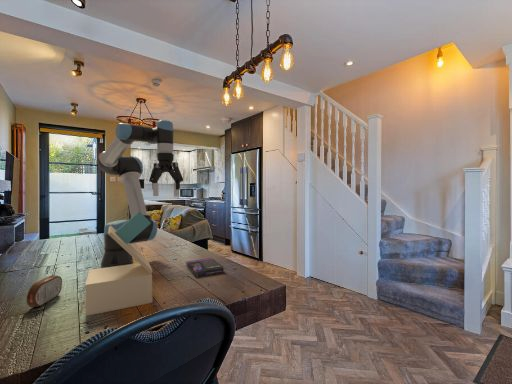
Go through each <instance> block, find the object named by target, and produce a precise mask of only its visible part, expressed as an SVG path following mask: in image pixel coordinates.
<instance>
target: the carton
mask: <svg viewBox="0 0 512 384" xmlns="http://www.w3.org/2000/svg"><path fill="white" fill-rule="evenodd" d="M84 289H85V292H84V293H85V297H84V298H85V316H86V317H87V316H92V315H97V314H102V313H107V312H112V311H116V310H122V309H127V308H131V307H137V306H142V305H147V304H152V303H153V275H152V273H150V272H148V271H147V270H146V269H145V268H144V267H143V266H142V265H141V264H140V263H139V262H137V263H133V264H129V265H122V266H114V267H106V268H101V267H99V268H91V269H89V270H88V274H87V277H86V282H85V284H84Z"/></svg>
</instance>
